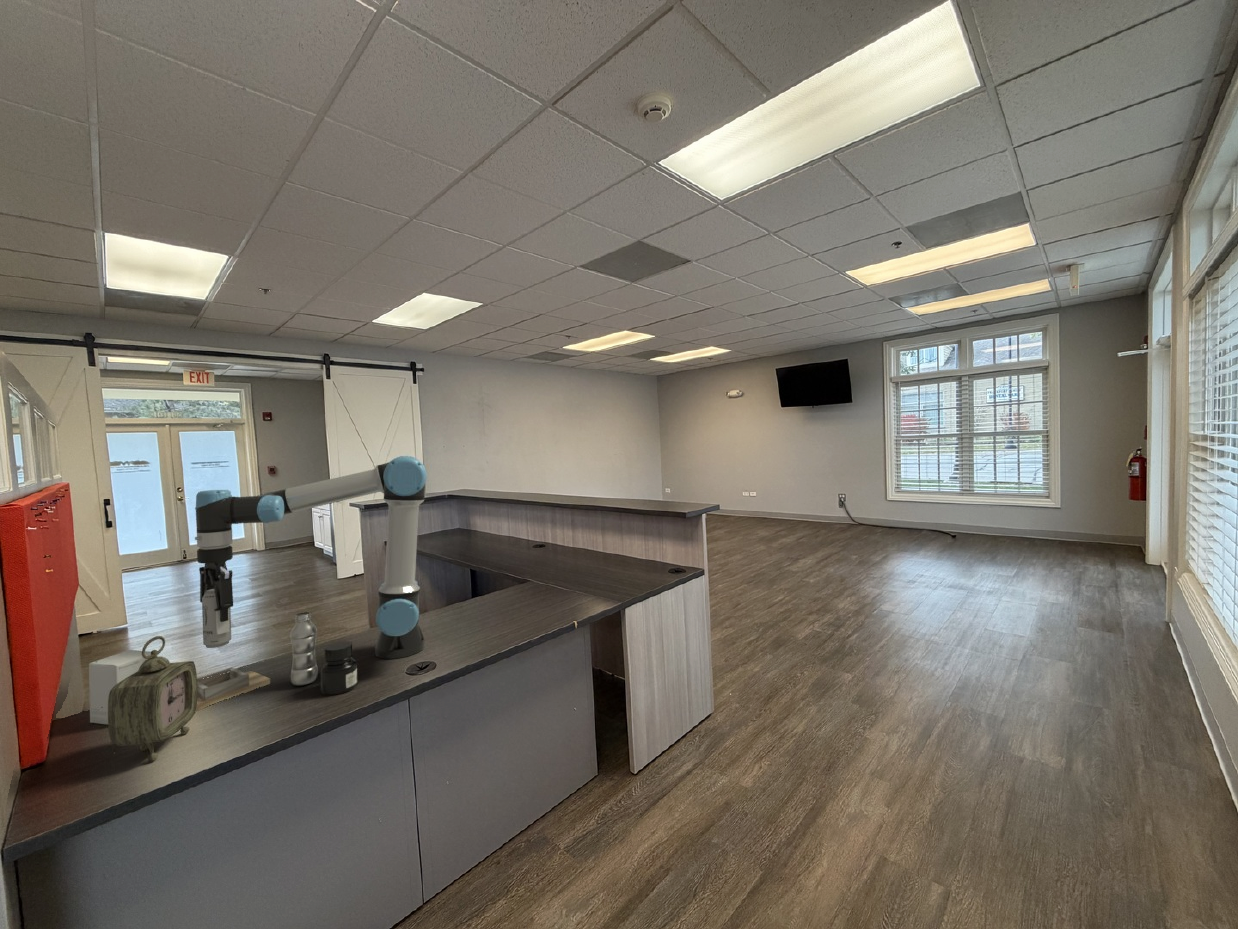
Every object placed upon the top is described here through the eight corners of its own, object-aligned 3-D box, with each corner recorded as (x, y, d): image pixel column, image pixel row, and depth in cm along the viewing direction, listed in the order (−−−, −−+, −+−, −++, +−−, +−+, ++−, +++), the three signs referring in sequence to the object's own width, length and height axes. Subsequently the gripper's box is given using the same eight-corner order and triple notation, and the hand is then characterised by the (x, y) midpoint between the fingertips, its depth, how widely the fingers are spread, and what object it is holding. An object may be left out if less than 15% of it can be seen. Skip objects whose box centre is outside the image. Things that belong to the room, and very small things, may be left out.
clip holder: (270, 683, 143) (269, 668, 143) (182, 716, 125) (181, 698, 125) (251, 675, 148) (250, 660, 148) (164, 705, 131) (163, 688, 131)
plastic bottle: (287, 683, 142) (285, 614, 142) (314, 675, 147) (312, 608, 147) (294, 691, 138) (292, 619, 138) (321, 682, 143) (319, 613, 143)
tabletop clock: (156, 765, 105) (152, 648, 105) (105, 772, 103) (101, 652, 103) (198, 728, 119) (195, 625, 119) (154, 733, 117) (150, 628, 117)
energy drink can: (199, 646, 136) (198, 591, 135) (226, 639, 141) (225, 586, 140) (207, 650, 132) (206, 594, 132) (235, 643, 137) (233, 589, 137)
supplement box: (117, 727, 121) (114, 665, 120) (89, 723, 122) (86, 663, 122) (158, 708, 130) (156, 651, 129) (131, 705, 131) (129, 649, 131)
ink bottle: (357, 691, 137) (356, 648, 137) (320, 699, 133) (319, 655, 133) (356, 677, 146) (355, 637, 145) (321, 685, 141) (320, 643, 141)
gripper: (182, 546, 137) (185, 629, 138) (214, 552, 128) (216, 641, 128) (215, 541, 144) (217, 621, 144) (247, 547, 134) (250, 632, 135)
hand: (217, 630), depth 136 cm, fingers closed on energy drink can, 6 cm apart
